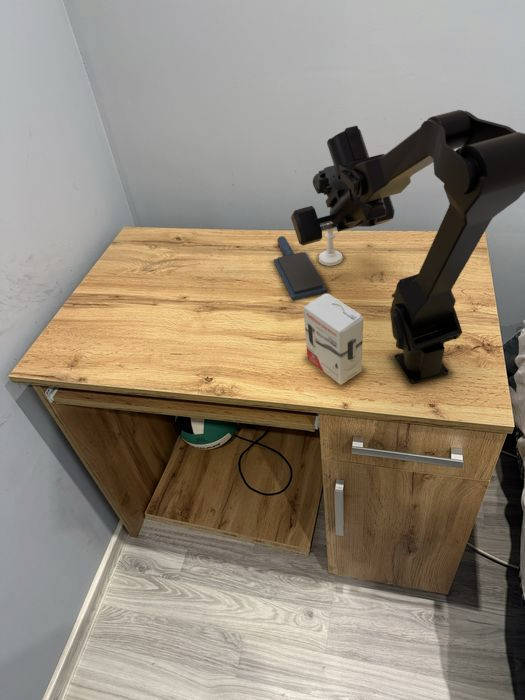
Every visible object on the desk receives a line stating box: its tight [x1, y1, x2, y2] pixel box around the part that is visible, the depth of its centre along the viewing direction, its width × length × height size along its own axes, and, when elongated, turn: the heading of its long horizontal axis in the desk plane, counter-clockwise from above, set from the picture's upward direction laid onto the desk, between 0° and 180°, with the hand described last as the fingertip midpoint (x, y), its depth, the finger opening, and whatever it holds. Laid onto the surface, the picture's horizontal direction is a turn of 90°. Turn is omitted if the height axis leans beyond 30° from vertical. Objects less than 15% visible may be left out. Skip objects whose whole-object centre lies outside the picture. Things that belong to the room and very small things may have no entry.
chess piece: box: [318, 222, 343, 267], centre depth 102 cm, size 5×5×10 cm
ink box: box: [302, 292, 364, 386], centre depth 79 cm, size 8×5×12 cm, turn 37°
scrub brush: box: [273, 235, 328, 301], centre depth 104 cm, size 21×7×2 cm, turn 14°
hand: (330, 229), depth 100 cm, fingers open, 9 cm apart
